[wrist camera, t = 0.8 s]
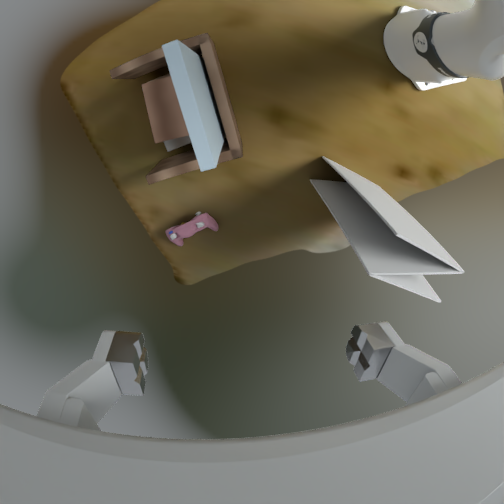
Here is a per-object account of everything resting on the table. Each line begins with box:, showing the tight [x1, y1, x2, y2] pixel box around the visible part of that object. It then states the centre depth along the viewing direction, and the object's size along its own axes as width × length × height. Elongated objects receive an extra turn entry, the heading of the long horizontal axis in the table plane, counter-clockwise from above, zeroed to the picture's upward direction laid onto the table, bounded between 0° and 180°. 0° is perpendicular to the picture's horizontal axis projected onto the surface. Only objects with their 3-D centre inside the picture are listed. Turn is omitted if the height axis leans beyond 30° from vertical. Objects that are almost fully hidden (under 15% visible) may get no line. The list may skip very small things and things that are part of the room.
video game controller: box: [165, 212, 218, 246], centre depth 56 cm, size 10×5×7 cm, turn 114°
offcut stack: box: [142, 74, 192, 152], centre depth 42 cm, size 7×13×8 cm, turn 14°
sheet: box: [162, 40, 226, 172], centre depth 34 cm, size 2×14×24 cm, turn 14°
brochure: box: [310, 156, 464, 303], centre depth 41 cm, size 14×6×30 cm, turn 67°
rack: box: [110, 33, 243, 184], centre depth 41 cm, size 15×20×10 cm
